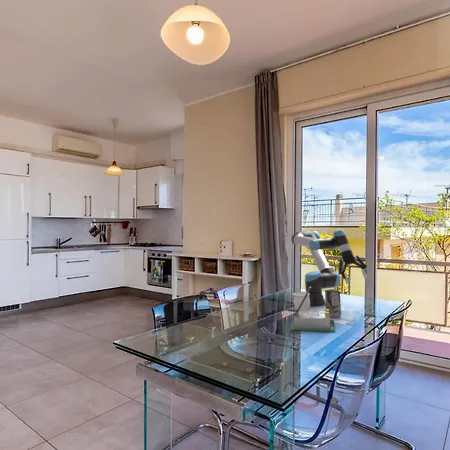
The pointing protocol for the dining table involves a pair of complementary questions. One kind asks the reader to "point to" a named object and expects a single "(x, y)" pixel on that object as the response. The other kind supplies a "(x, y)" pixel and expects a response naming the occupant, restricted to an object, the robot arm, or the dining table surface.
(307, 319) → the heat sink
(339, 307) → the coffee box
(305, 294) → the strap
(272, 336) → the dining table surface
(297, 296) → the jar
